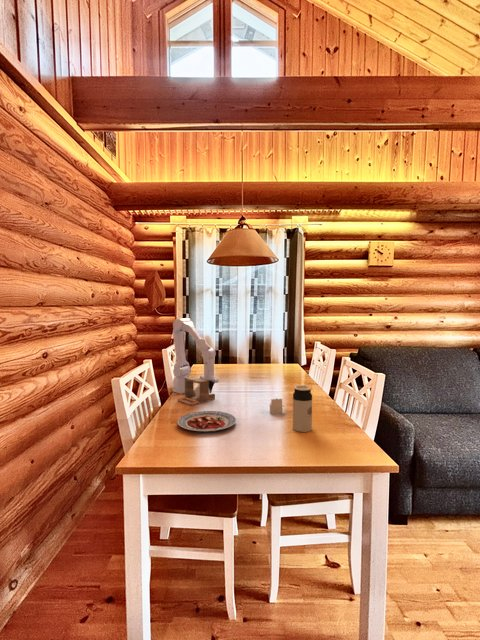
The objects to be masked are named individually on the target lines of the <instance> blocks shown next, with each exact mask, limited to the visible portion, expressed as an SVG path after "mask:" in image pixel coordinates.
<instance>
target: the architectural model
mask: <svg viewBox="0 0 480 640" xmlns="http://www.w3.org/2000/svg"><path fill="white" fill-rule="evenodd" d="M284 407H285V405H284V404H283V398H278V397H276V398H273V399H271V400H270V404H269V414H271V415H272V414H283V408H284Z"/></svg>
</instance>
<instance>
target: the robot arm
mask: <svg viewBox="0 0 480 640" xmlns="http://www.w3.org/2000/svg"><path fill="white" fill-rule="evenodd" d="M172 328H173V329H172V337H173V344H174V352H175V359H176V362H175V363H174V365H173V375H174V377H173V380H172V384H173V385H172V387H173V388H172V390H171V391H172V392H173V393H174V392H175V393H177V394H181V395H182V394H185V378H186V377H190V374H191V372H192V368H191V366H190V363H189V362H188V361H187V360H186V351H185V344H184V343H185V342H184V337H183V336H184V335H183V334H184V333H185V332H188V333H189V335H190V336H191V337H192V338H193V339H194V341H195V346H196V347H197V348H198V349H199V351H200V353H201V357H202V360H203V374H202V375H199V378H200V379H204V380H208V381H209V390H210V394H212V392H213V387H214V385H215V384H217V383H219V382H220V380H219V378H216V376H215V357H216V356H217V351H216V350H215V348H213V347H211V345H209V343H208V342H207V339H206V338H203V337H201V335H200V333H198V331H197V329H196V327H195V326H194V322H193V321H192V320H191V318H189V317H185V318H176V319H174V321H173V322H172Z"/></svg>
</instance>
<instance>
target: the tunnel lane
mask: <svg viewBox="0 0 480 640" xmlns="http://www.w3.org/2000/svg"><path fill="white" fill-rule="evenodd" d="M194 384H197V385H198V384H200V399H199V404H203V403H207V402H210V401H214V400H216V393H210V394H209V381H208V380H204V379H200V377H199V378H198V377H195V376H188V377H186V378H185V393H184V397H186V398H191V397H196V395H195V392H194V390H195V387H194V386H195V385H194Z"/></svg>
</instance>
